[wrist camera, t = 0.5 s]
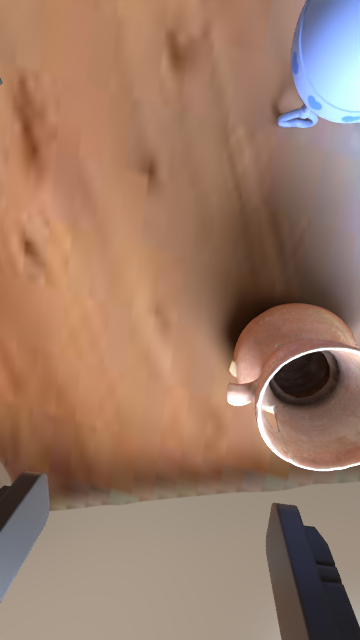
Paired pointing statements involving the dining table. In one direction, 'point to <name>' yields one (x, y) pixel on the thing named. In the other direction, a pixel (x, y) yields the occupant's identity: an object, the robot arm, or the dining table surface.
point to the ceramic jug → (301, 384)
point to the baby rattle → (326, 63)
